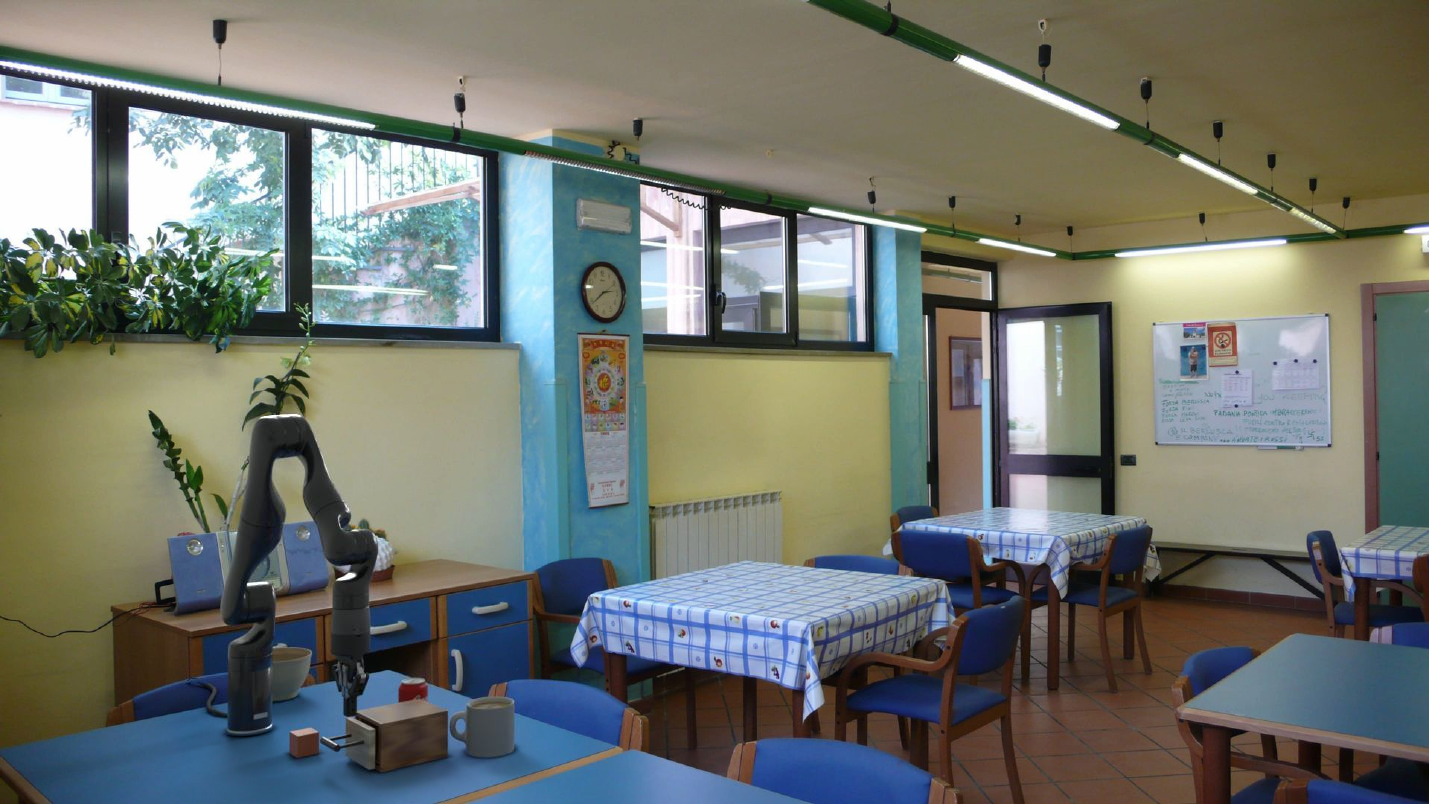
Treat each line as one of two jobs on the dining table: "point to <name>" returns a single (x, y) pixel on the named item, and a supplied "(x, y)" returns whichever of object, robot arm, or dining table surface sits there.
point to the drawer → (358, 742)
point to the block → (304, 742)
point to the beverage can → (413, 690)
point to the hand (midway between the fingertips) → (350, 715)
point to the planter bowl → (289, 671)
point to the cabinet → (409, 733)
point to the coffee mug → (486, 726)
